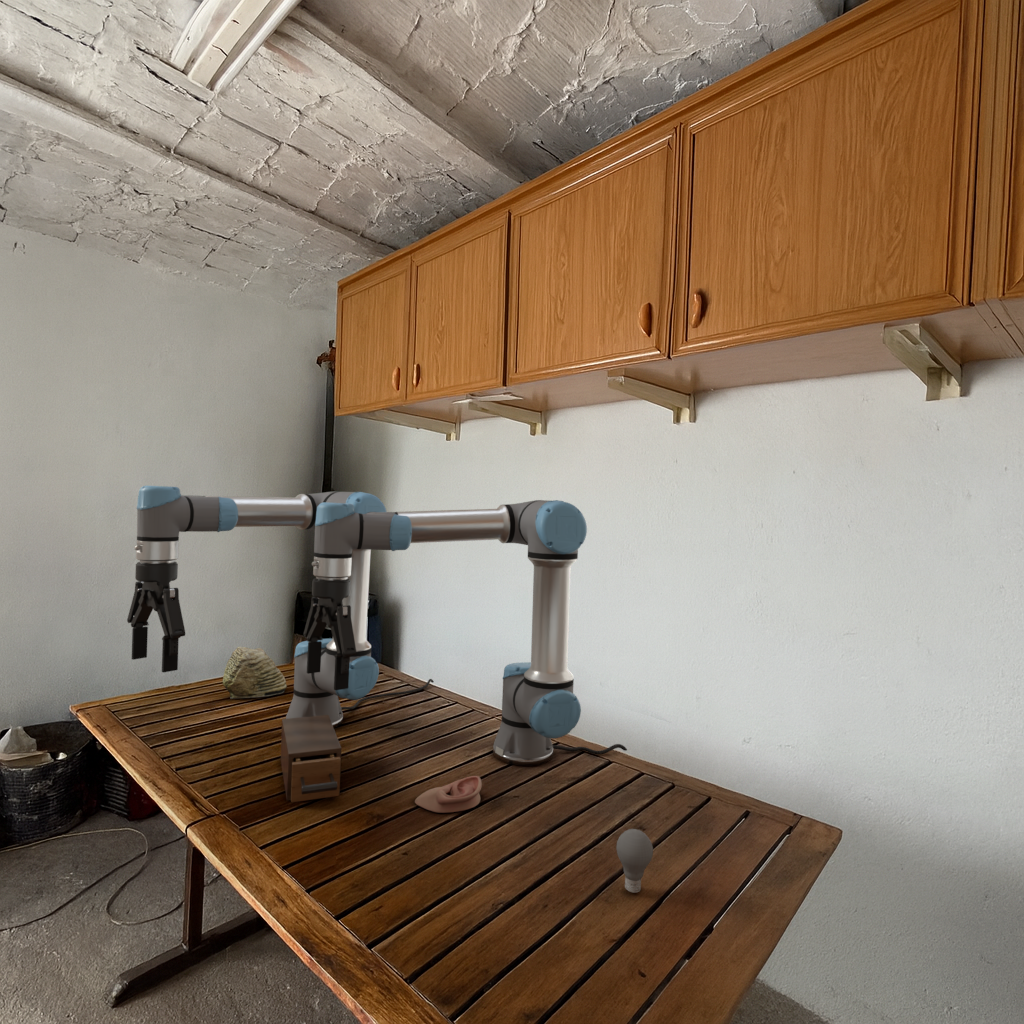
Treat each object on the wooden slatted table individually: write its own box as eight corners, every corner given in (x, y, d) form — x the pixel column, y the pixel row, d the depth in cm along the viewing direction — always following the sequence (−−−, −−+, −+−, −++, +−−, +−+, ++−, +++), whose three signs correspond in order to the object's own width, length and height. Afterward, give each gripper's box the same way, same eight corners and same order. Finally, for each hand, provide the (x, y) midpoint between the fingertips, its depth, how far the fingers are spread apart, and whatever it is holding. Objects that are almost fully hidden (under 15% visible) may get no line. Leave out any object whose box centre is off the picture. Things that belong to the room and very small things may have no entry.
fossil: (218, 695, 195) (220, 647, 195) (278, 685, 208) (279, 640, 207) (228, 703, 189) (230, 653, 188) (289, 692, 201) (290, 645, 201)
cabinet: (339, 793, 136) (341, 747, 135) (286, 800, 131) (288, 753, 131) (327, 754, 155) (328, 714, 155) (280, 759, 151) (282, 719, 151)
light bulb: (610, 879, 108) (613, 822, 108) (644, 879, 109) (647, 822, 109) (619, 902, 102) (622, 840, 102) (655, 901, 103) (658, 840, 103)
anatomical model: (409, 789, 130) (428, 766, 141) (409, 808, 130) (427, 784, 141) (472, 798, 127) (486, 774, 138) (471, 818, 127) (485, 792, 138)
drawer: (343, 809, 127) (345, 770, 127) (293, 816, 123) (295, 777, 123) (326, 757, 151) (328, 725, 151) (284, 762, 147) (285, 729, 147)
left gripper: (111, 556, 134) (108, 656, 134) (166, 568, 119) (163, 680, 119) (148, 555, 140) (146, 650, 140) (206, 566, 125) (202, 672, 125)
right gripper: (291, 571, 137) (286, 668, 137) (341, 586, 118) (335, 699, 118) (324, 570, 142) (319, 664, 142) (377, 585, 123) (371, 693, 123)
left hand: (154, 664), depth 130 cm, fingers open, 13 cm apart
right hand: (326, 680), depth 130 cm, fingers open, 13 cm apart
